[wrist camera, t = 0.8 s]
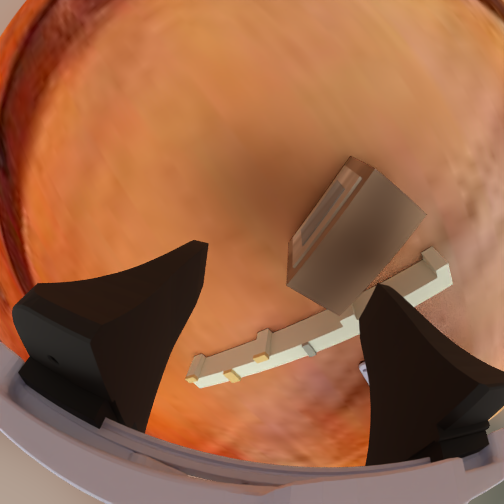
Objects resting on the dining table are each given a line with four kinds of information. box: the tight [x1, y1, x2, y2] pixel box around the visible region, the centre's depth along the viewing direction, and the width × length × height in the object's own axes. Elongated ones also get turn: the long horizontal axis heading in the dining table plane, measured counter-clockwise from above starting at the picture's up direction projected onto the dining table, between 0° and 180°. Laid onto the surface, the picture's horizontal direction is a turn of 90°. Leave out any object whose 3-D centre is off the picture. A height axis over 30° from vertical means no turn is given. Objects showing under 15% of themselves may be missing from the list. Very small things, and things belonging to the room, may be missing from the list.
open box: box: [286, 156, 427, 316], centre depth 16 cm, size 4×8×6 cm, turn 149°
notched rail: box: [185, 246, 453, 388], centre depth 22 cm, size 2×26×3 cm, turn 125°
